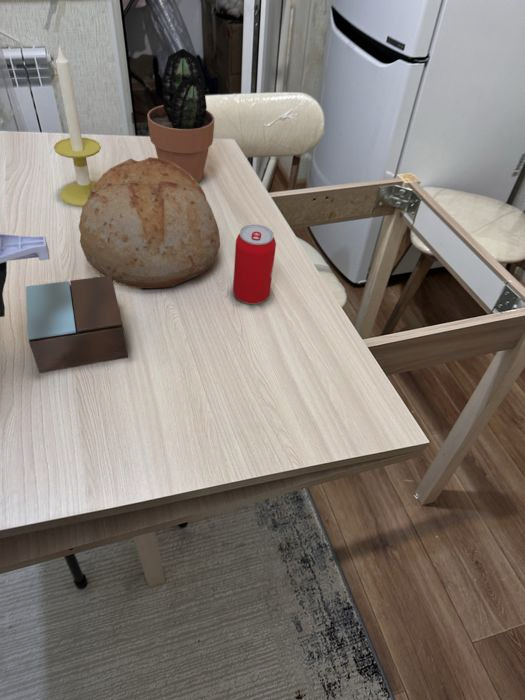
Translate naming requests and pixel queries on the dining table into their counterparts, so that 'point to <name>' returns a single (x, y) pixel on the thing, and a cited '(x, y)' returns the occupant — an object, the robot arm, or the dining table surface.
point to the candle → (74, 140)
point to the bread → (148, 225)
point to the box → (85, 329)
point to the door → (49, 310)
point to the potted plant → (182, 116)
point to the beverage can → (253, 264)
